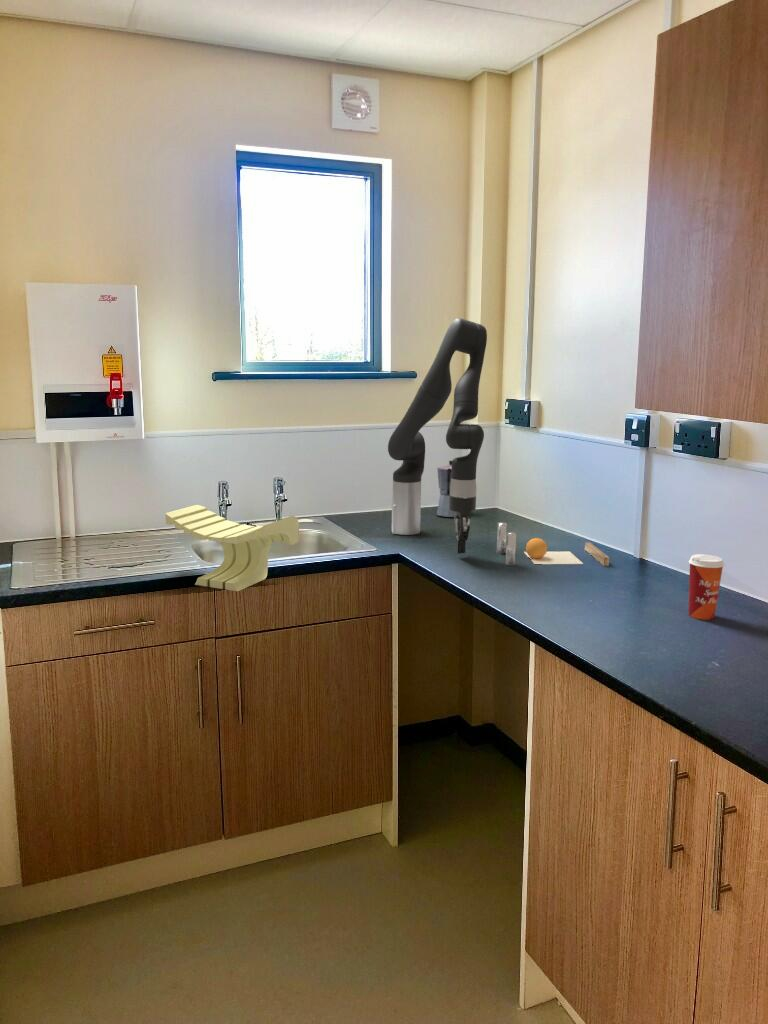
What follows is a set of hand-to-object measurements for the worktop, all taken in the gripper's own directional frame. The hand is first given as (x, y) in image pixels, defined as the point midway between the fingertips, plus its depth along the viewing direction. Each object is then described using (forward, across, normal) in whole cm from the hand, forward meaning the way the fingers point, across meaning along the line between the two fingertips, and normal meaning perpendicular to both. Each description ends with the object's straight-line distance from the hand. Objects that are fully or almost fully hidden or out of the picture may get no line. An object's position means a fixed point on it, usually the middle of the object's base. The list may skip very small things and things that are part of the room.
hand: (461, 552), depth 242 cm
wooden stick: (+2, 0, +40) cm, 40 cm away
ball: (-1, 0, +22) cm, 22 cm away
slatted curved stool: (+2, +21, -63) cm, 66 cm away
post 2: (+2, +6, +13) cm, 15 cm away
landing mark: (+2, 0, +27) cm, 27 cm away
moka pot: (+2, -60, +5) cm, 60 cm away
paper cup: (+2, +53, +48) cm, 72 cm away
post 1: (+2, -7, +13) cm, 15 cm away
